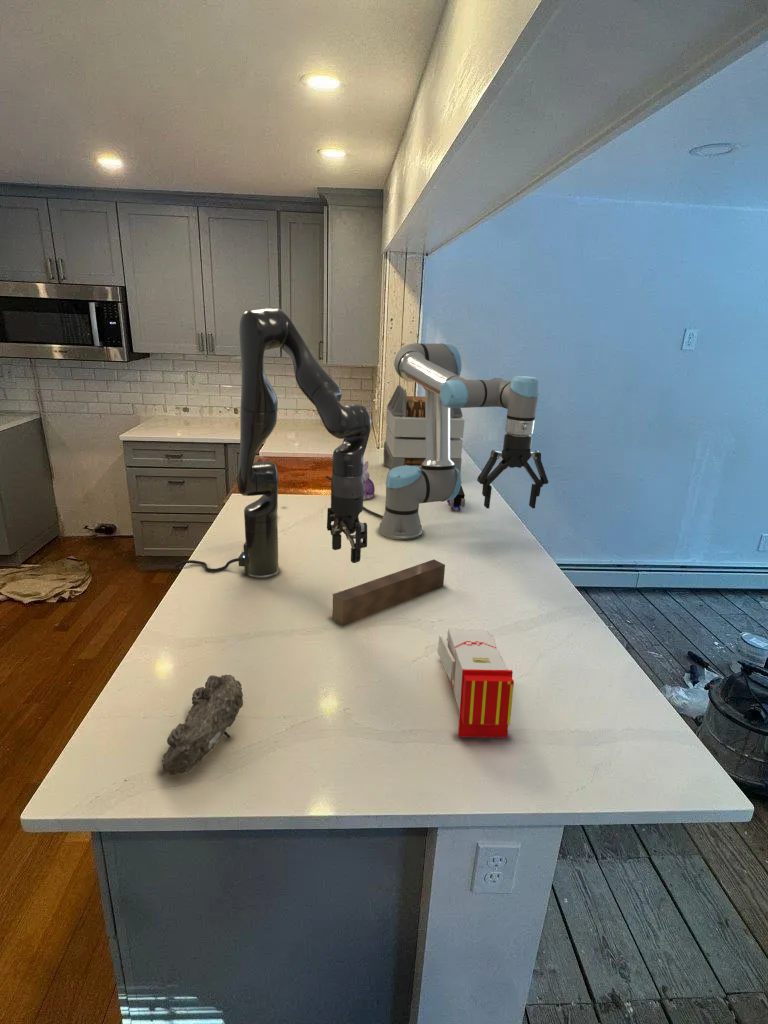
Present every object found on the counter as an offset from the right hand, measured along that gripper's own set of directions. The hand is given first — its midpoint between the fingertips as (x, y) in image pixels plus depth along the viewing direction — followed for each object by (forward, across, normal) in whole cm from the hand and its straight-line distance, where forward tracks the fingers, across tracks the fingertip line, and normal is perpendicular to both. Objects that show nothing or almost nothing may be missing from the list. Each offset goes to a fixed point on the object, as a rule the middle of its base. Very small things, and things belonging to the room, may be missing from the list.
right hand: (509, 507), depth 163 cm
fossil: (+22, -76, -61) cm, 100 cm away
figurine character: (+23, +2, +64) cm, 67 cm away
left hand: (+4, -48, -22) cm, 54 cm away
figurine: (+23, -34, +76) cm, 86 cm away
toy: (+22, -24, -52) cm, 62 cm away
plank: (+22, -35, -13) cm, 44 cm away
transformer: (+23, -3, +112) cm, 115 cm away
